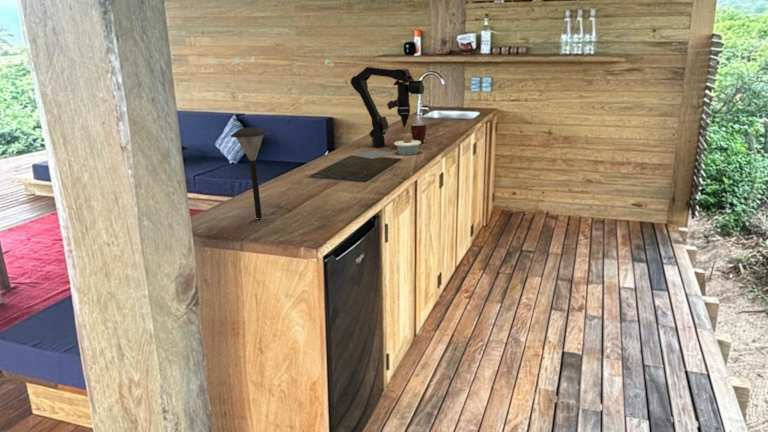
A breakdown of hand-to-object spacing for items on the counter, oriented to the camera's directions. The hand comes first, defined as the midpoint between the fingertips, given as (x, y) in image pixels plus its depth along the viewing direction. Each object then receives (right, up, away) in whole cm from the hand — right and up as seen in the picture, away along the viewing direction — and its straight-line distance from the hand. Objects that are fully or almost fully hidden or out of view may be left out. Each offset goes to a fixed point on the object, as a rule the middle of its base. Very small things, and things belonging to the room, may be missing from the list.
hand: (404, 125), depth 306 cm
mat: (-15, -16, -10) cm, 25 cm away
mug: (+8, -8, +16) cm, 19 cm away
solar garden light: (-52, -48, -108) cm, 128 cm away
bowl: (+1, -16, -11) cm, 20 cm away
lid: (+1, -11, -13) cm, 17 cm away
